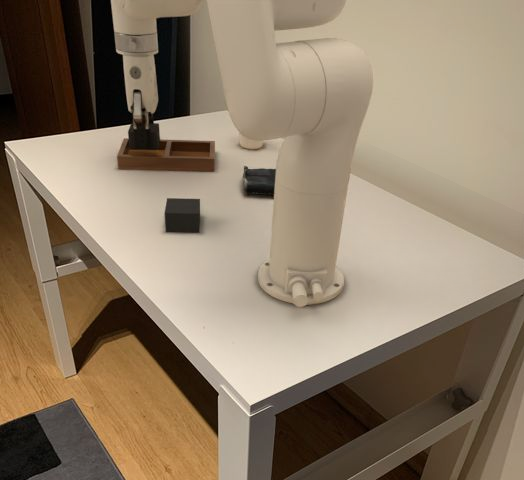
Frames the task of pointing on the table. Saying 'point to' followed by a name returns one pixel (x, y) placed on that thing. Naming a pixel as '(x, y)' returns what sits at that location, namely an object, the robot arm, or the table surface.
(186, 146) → the wooden tray
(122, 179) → the table surface
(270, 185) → the electronic device
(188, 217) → the pad right
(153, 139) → the pad left
